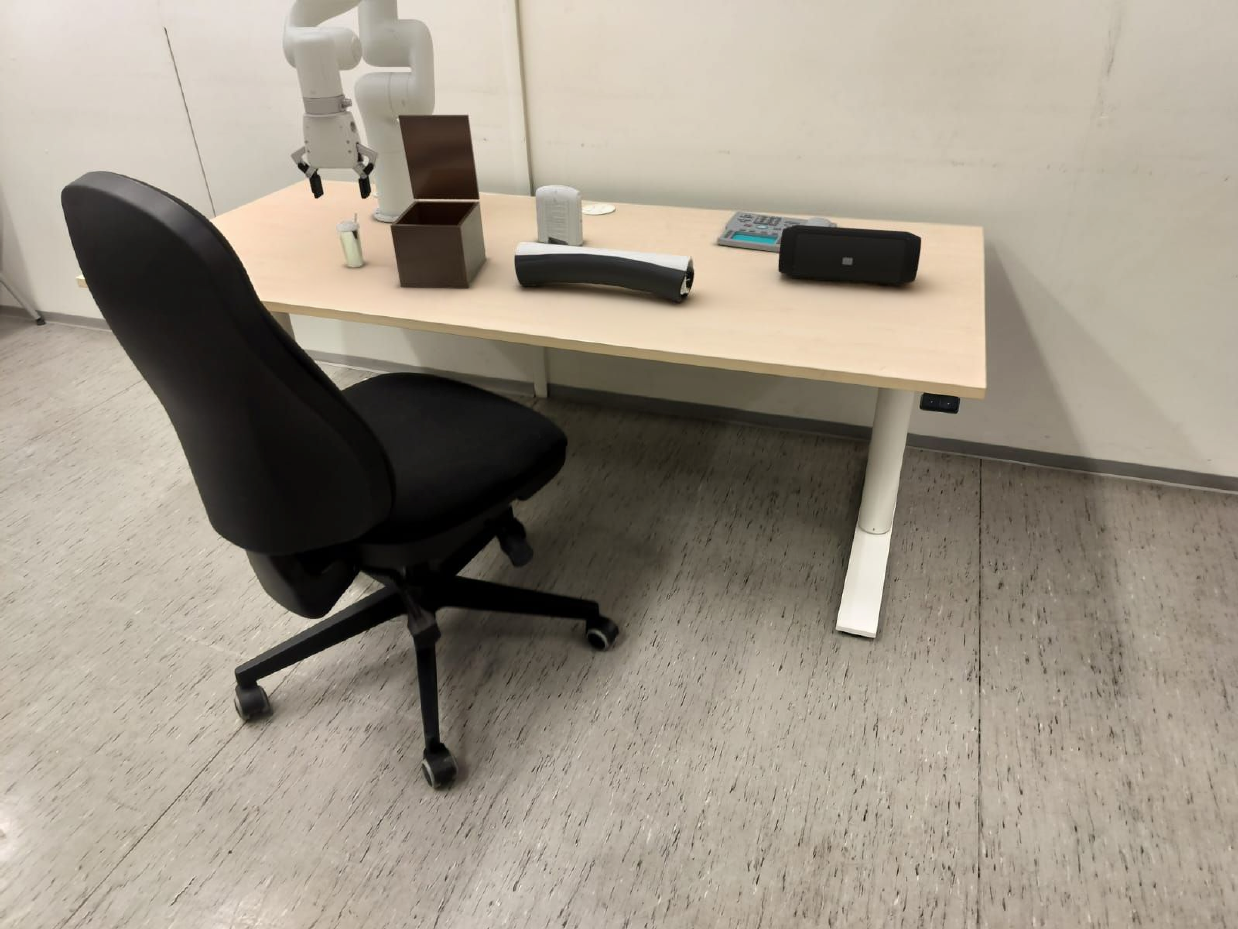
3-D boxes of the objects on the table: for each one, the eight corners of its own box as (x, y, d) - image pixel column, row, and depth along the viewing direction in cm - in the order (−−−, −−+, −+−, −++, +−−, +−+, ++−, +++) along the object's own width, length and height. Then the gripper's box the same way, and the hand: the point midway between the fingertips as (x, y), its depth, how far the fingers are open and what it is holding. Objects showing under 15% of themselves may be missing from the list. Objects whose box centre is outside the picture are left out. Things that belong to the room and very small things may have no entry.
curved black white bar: (691, 316, 161) (705, 254, 165) (684, 291, 152) (699, 226, 156) (520, 298, 170) (537, 240, 174) (505, 273, 161) (523, 212, 165)
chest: (468, 288, 166) (460, 226, 159) (400, 287, 168) (390, 225, 161) (486, 259, 179) (479, 201, 172) (423, 258, 180) (414, 200, 174)
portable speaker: (776, 284, 165) (780, 233, 159) (781, 265, 173) (785, 217, 167) (913, 294, 159) (923, 242, 154) (912, 275, 167) (921, 225, 162)
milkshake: (373, 261, 180) (364, 214, 174) (357, 270, 176) (347, 222, 170) (356, 258, 181) (347, 211, 176) (339, 267, 177) (329, 219, 172)
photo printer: (586, 241, 187) (583, 184, 181) (579, 247, 184) (576, 190, 177) (542, 237, 190) (538, 181, 183) (535, 243, 187) (531, 186, 180)
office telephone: (838, 216, 190) (820, 245, 175) (836, 228, 192) (819, 258, 176) (737, 205, 198) (712, 232, 182) (736, 216, 199) (711, 244, 184)
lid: (467, 115, 161) (468, 114, 162) (398, 115, 163) (399, 114, 163) (478, 199, 172) (479, 198, 172) (413, 199, 173) (414, 197, 174)
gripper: (375, 101, 163) (390, 192, 173) (289, 101, 165) (308, 191, 174) (362, 109, 157) (378, 202, 166) (272, 109, 159) (293, 201, 168)
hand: (342, 196), depth 170 cm, fingers open, 9 cm apart
